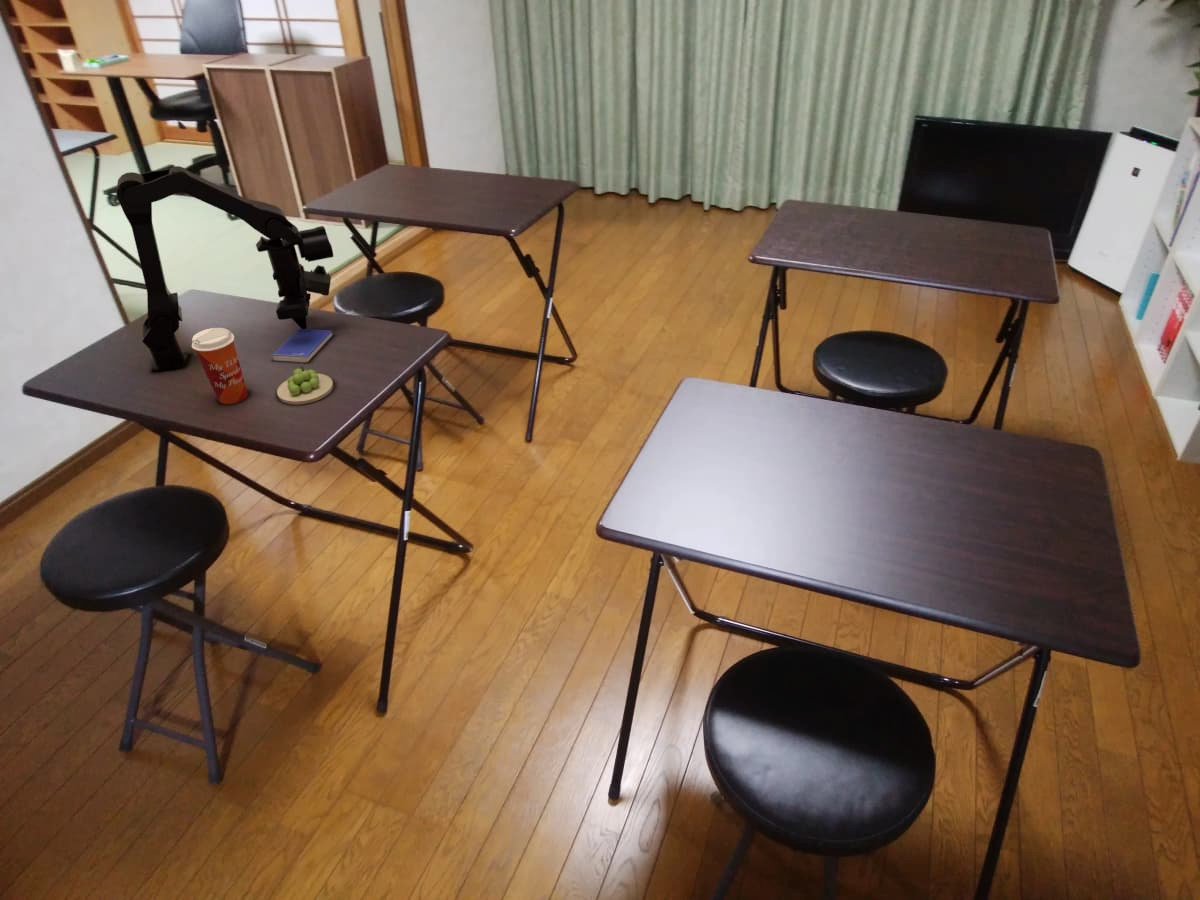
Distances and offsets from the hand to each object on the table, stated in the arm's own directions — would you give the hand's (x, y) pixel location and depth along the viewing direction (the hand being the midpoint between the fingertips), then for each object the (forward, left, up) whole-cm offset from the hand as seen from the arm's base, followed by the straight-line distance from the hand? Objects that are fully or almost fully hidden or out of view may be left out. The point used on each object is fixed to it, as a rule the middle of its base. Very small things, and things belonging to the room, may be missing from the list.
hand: (304, 328), depth 176 cm
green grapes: (+27, +2, -1) cm, 27 cm away
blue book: (+7, 0, -1) cm, 8 cm away
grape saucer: (+27, +2, -1) cm, 27 cm away
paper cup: (+25, -12, -1) cm, 28 cm away
